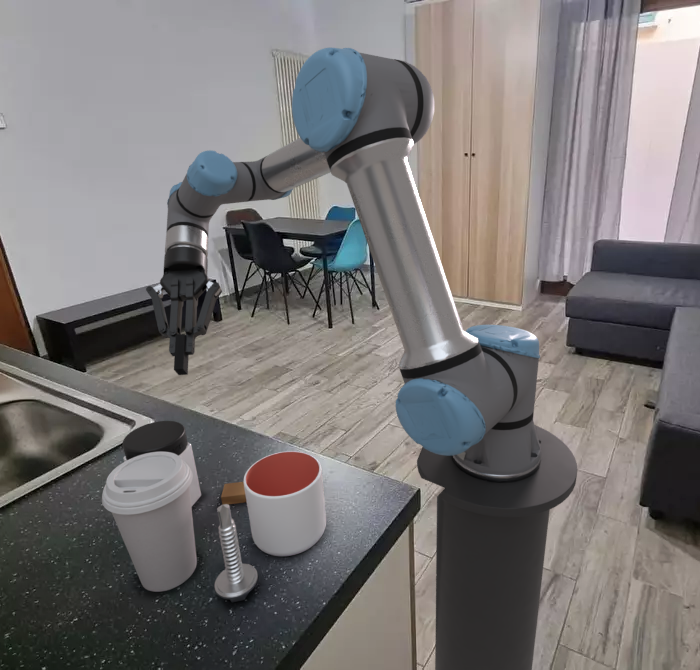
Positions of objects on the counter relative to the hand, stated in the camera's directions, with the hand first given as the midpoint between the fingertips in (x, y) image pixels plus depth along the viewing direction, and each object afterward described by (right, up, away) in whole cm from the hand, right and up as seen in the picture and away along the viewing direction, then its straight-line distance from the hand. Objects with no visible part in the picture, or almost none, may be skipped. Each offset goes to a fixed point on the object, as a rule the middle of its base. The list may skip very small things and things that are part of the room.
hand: (180, 372), depth 82 cm
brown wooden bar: (+17, -18, -7) cm, 26 cm away
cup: (+22, -21, -15) cm, 34 cm away
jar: (+2, -19, -9) cm, 22 cm away
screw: (+18, -25, -24) cm, 39 cm away
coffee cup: (+8, -24, -21) cm, 33 cm away
